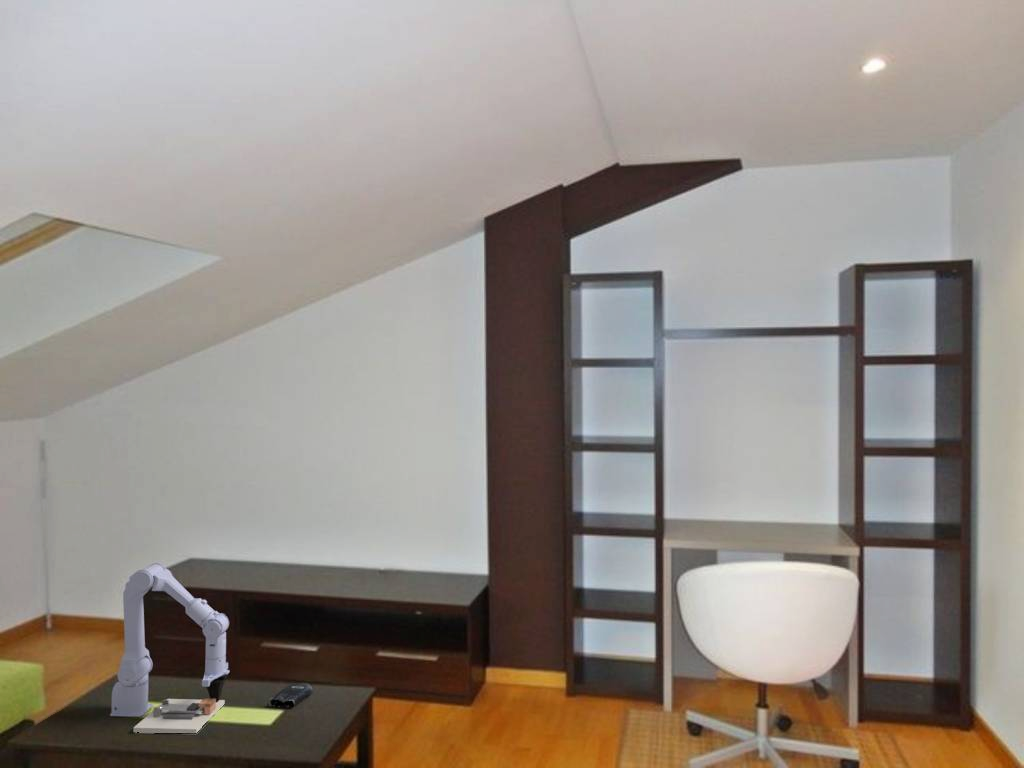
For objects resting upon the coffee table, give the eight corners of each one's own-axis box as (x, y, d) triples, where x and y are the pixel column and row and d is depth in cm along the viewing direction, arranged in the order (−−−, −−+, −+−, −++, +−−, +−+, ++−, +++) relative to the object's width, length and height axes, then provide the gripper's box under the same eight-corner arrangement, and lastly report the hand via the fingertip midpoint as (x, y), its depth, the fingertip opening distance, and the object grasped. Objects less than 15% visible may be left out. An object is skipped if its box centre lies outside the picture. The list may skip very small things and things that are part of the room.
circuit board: (133, 733, 214) (133, 718, 214) (167, 703, 234) (167, 690, 234) (196, 734, 214) (196, 719, 214) (224, 705, 234) (224, 691, 234)
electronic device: (297, 714, 232) (317, 689, 246) (293, 697, 231) (314, 673, 246) (269, 716, 233) (291, 690, 248) (266, 699, 233) (288, 674, 247)
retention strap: (155, 712, 222) (155, 707, 222) (161, 707, 226) (162, 701, 226) (201, 715, 222) (201, 709, 222) (207, 709, 226) (207, 703, 226)
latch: (198, 713, 223) (198, 703, 223) (204, 708, 227) (204, 698, 227) (210, 714, 223) (210, 703, 223) (215, 708, 227) (215, 698, 227)
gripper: (219, 665, 221) (218, 711, 221) (238, 648, 236) (237, 692, 235) (195, 664, 221) (194, 711, 221) (215, 647, 236) (214, 691, 236)
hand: (214, 701), depth 228 cm, fingers closed
